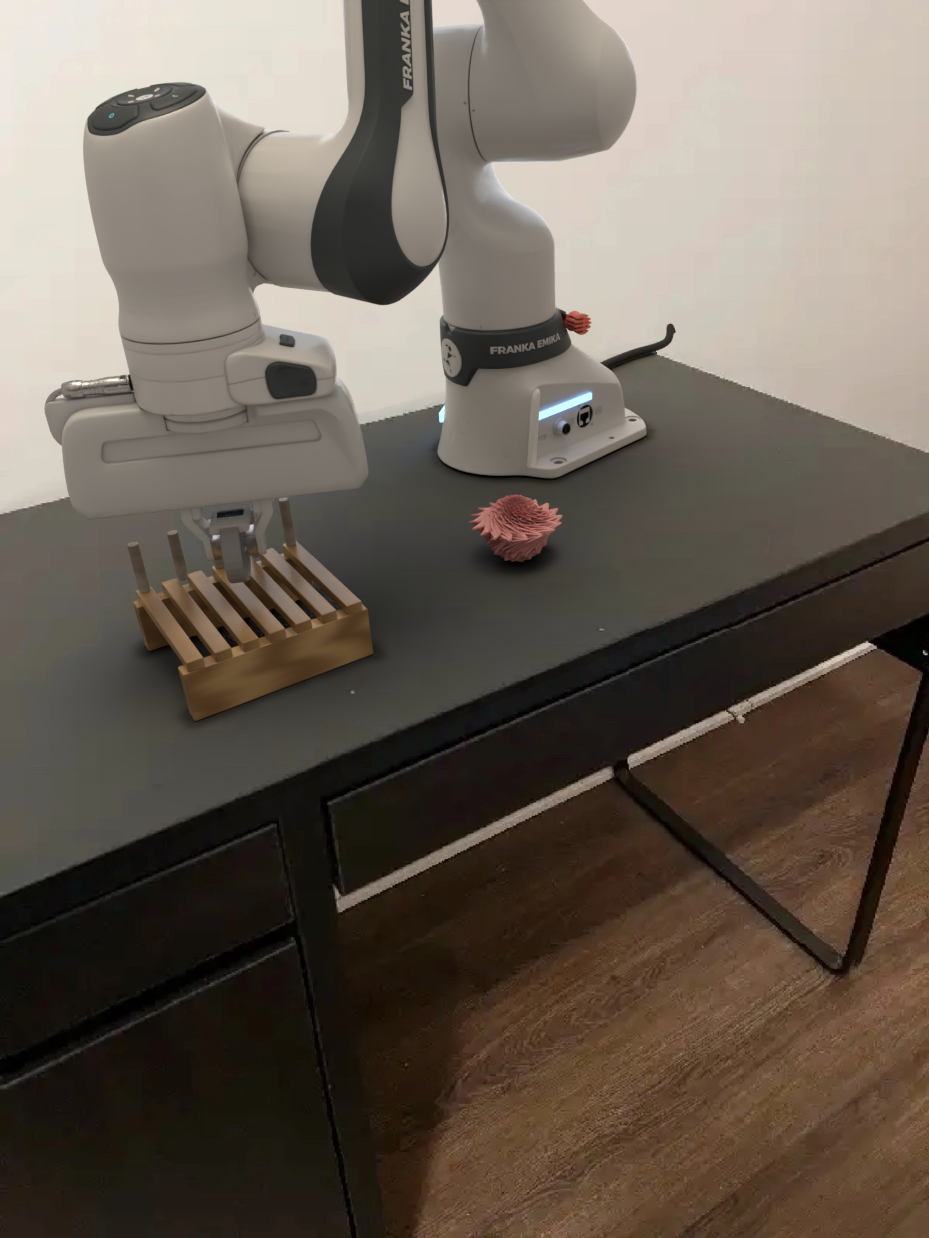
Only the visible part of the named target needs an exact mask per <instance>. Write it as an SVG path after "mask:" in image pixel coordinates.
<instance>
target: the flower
mask: <svg viewBox="0 0 929 1238" xmlns="http://www.w3.org/2000/svg"><path fill="white" fill-rule="evenodd" d="M489 505H491V506H489V507H477V509H478V510H479V511H481V512H479V513H472V514H471V513H470V516H471V517H474V518H475V519H473V520H469V521H468V522H467V523H468V524H473V525H474V527H472V528H471V530H472V531H475V532H479V533H480V535H479V536H480V537H483V539H484V540H485V542H486V544H487V545H490V550H491V551H493V555H494V556H495V555H496V556H500V557H501V559H503V561H505V562H507V561H510V562H513V563H514V562H519V563H520V562H521V563H524V561H525V560H532V557H536V556H537V555H539V554H541V552H542V549H543V547H546V546H547V543H548V540H549V536H550V535H551V534H552V533H553V532H555V531H556V528H557V527H559V526H561V525H562V524H563V522H562V521H560V520H561V519H562V518H563V517H564V516H563V514H557V513H558V510H559V507H555V508H550V509H549V507H550V503H549V502H545V503H544V504H541V505H539V504H538V501H537V499H536V498H535V499H533V500H532V498H530V497H527V496H524V495H522V494H510V495H505V496H504V497H500V498H499V499H497V500H496V502H495V503H494V502H492V501H490V502H489Z"/></svg>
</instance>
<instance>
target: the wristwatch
mask: <svg viewBox="0 0 929 1238" xmlns="http://www.w3.org/2000/svg"><path fill="white" fill-rule="evenodd" d="M251 508H252V506H251V504H250V503H242V504H234V505H224V506H216V507H214V508H212V510H211V516H210V519H211V522H210V529H209V532H210V534H211V535H220V542H221V550H222V557H223V563H224V568H225V572H226V576H227V579H228V581H229V582H230V583H241V582H247V581H249V579H250V575H251V558H250V556H246V555H245V546H244V545H243V540H242V532H247V531H249V529H250V518H251Z"/></svg>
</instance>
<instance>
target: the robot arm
mask: <svg viewBox="0 0 929 1238" xmlns="http://www.w3.org/2000/svg"><path fill="white" fill-rule="evenodd" d="M475 2H476V4H477V6H478V8H479V10H480V12H481V17H482V19H483V20H482V21H483V23H482V22H481V23H470V24H469V23H468V24H467V23H466V24H447V25H434V22H433V21H434V19H433V17H434V16H433V0H342V18H343V36H344V53H345V54H344V57H345V71H346V72H345V73H346V75H345V76H346V95H347V109H346V115H345V119H344V120H343V123H342V124H341V126H340V127H339V128H338V129H337V130H336V132H325V131H324V132H323V131H322V132H321V131H320V132H315V131H289V130H283V129H266V127H265V126H262V125H259V124H255V123H252V122H249V121H247V120H244V119H242V118H240V117H237V116H236V115H234V114H232V113H230V112H228V111H227V110H226V109H224V108H223V107H221V106H220V105H219V104H218V103H216V102H215V101H214V98H213V96H212V95H211V93H210V91H209V90H208V89H207V88H205V87H204V86H202V85H200V84H197V83H192V82H184V81H179V82H178V81H176V82H175V81H173V82H162V83H155V84H150V85H149V86H145V87H144V86H143V87H140V88H137V87H136V88H132V89H129V90H126V91H124V92H121V93H118V94H115V95H114V96H111V97H109V98H108V99H106V100H104V101H103V102H101V103H100V104H98V105H97V106H96V107H95V109H94V110H93V111H92V112H91V113H90V114H89V115H88V117H87V118H86V121H85V124H84V129H83V137H82V140H83V141H82V155H83V156H82V158H83V170H84V179H85V185H86V186H85V187H86V191H87V198H88V203H89V209H90V214H91V219H92V223H93V228H94V233H95V236H96V241H97V244H98V245H97V246H98V249H99V254H100V257H101V261H102V263H103V266H104V268H105V270H106V272H107V274H108V275H109V277H110V279H111V281H112V283H113V285H114V289H115V292H116V295H117V301H118V319H117V320H118V323H117V324H118V331H119V336H120V339H121V343H122V348H123V351H124V356H125V360H126V365H127V368H128V374H120V375H111V376H104V377H101V378H96V379H90V380H89V379H88V380H83V379H74V380H68V381H65V382H62V383H61V385H60V387H59V388H57V389H55V390H53V391H52V392H51V393H50V394H48V396H47V398H46V399H45V403H44V414H45V419H46V423H47V425H48V428H49V432H50V434H51V436H52V438H53V439H54V440H55V442H56V443H57V444H58V445H60V446H61V453H62V464H63V473H64V478H65V484H66V490H67V495H68V499H69V502H70V505H71V508H72V509H73V510H74V511H75V512H76V513H78V514H79V515H80V516H81V517H83V518H84V519H86V520H90V521H91V520H101V519H111V518H118V517H126V516H134V515H136V516H137V515H142V514H152V513H161V512H169V511H179V516H180V521H181V523H182V524H183V525H184V527H186V528H187V530H189V531H190V532H191V533H192V534H193V535H194V536H195V537H196V538H197V539H198V540H199V541H200V542H202V544H203V548H204V553H205V557H206V558H205V559H206V560H207V561H208V562H210V561H212V562H213V561H214V560H219V559H223V557H222V550H221V542H220V535H211V534H210V532H209V529H210V524H209V523H208V522H207V521H206V520H207V519H206V518H205V517H204V515H203V512H204V508H205V507H212V506H221V505H222V506H223V505H230V504H239V503H247V502H248V503H249V502H251V504H252V506H251V507H252V509H253V513H254V514H257V515H256V517H255V522H254V524H252V525H250V529H249V531H247V532H242V540H243V545H244V546H245V555H246V556H251V557H252V555H261V554H266V552H267V549H268V545H267V538H266V537H267V536H266V530H267V528H268V526H269V524H270V522H271V519H272V517H273V515H274V513H275V499H280V498H283V497H287V498H291V497H292V498H293V497H300V496H308V495H317V494H327V493H334V492H342V491H353V490H358V489H360V488H361V487H362V486H363V484H364V483H365V481H366V480H367V478H368V476H369V474H370V473H369V465H368V457H367V452H366V446H365V441H364V436H363V432H362V427H361V424H360V420H359V417H358V413H357V410H356V406H355V404H354V401H353V397H352V395H351V392H350V390H349V389H348V387H347V386H346V383H344V381H342V380H341V378H340V377H338V374H337V373H338V371H337V359H336V354H335V351H334V348H333V346H332V344H330V342H329V340H328V339H326V338H325V337H323V336H320V335H316V334H313V333H307V332H302V331H297V330H292V329H287V328H282V327H276V326H273V325H269V324H264V323H263V322H262V317H261V311H260V307H259V304H258V301H257V300H256V297H255V295H254V292H255V290H256V288H257V287H259V286H261V285H264V284H265V285H273V286H277V287H279V288H280V287H281V288H286V289H296V290H297V289H298V290H303V291H304V290H306V291H315V292H322V293H331V294H332V295H335V296H340V297H343V298H348V299H351V300H355V301H361V302H364V303H369V304H372V305H377V306H389V305H392V304H393V305H394V304H395V303H397V302H400V301H402V300H403V299H404V298H406V297H407V296H408V295H409V294H411V293H412V292H413V291H414V290H416V289H417V288H418V287H419V286H420V285H421V284H422V283H423V282H424V281H425V280H426V279H427V278H428V276H429V275H430V274H431V273H432V272H433V270H434V269H435V268H436V266H437V265H438V275H439V282H440V283H439V284H440V291H441V303H442V315H441V317H440V318H439V340H440V353H441V355H440V356H441V363H442V368H443V374H444V376H445V393H444V405H443V407H442V408H441V410H440V411H439V412H438V417H439V418H438V420H439V423H442V426H441V432H440V437H439V443H438V446H437V450H436V451H437V456H438V458H439V460H440V461H441V462H443V463H444V464H446V465H447V466H448V467H451V468H453V469H456V470H457V471H462V472H465V473H468V474H474V475H482V476H498V477H501V476H502V477H505V476H508V477H509V476H528V477H533V478H541V479H556V478H559V477H562V476H564V475H566V474H568V473H571V472H572V471H575V470H577V469H579V468H581V467H583V466H585V465H587V464H589V463H591V462H593V461H596V460H598V459H600V458H602V457H604V456H607V455H608V454H610V453H612V452H615V451H617V450H618V449H621V448H623V447H625V446H627V445H630V444H632V443H634V442H635V441H638V440H640V439H642V438H644V437H645V436H647V426H646V423H645V421H644V419H642V418H641V417H640V416H639V415H638V414H636V412H633V411H632V410H630V409H628V408H627V407H625V399H624V393H623V388H622V385H621V382H620V380H619V378H618V376H617V375H616V374H615V373H614V372H613V371H612V370H611V369H610V368H611V367H613V366H616V365H618V364H620V363H623V362H626V361H628V360H631V359H633V358H636V357H640V356H644V355H648V354H651V353H654V352H658V351H661V350H663V349H665V348H666V347H668V346H669V345H670V344H672V341H673V339H674V335H675V334H676V332H677V330H676V328H675V325H674V324H673V323H668V324H667V325H666V328H665V329H666V330H665V331H666V332H665V337H664V338H663V339H661V340H659V341H657V342H654V343H650V344H647V345H643V346H639V347H636V348H633V349H629V350H627V351H625V352H622V353H619V354H616V355H614V356H612V357H609V358H606V359H604V360H602V361H601V362H600V361H598V360H597V359H596V358H593V356H591V355H590V354H588V353H587V352H585V351H584V350H582V349H580V348H579V347H578V346H576V345H575V344H573V342H572V339H571V336H570V334H569V332H574V333H576V334H577V335H578V336H579V335H580V336H581V335H582V336H584V335H586V334H587V333H589V329H590V328H591V327H592V325H591V324H592V321H591V320H592V319H591V317H589V314H586V313H582V312H579V311H578V310H572V311H570V312H568V313H567V312H566V311H565V310H564V309H561V308H558V307H557V305H556V303H557V302H556V301H557V300H556V242H555V237H554V234H553V232H552V230H551V228H550V226H549V224H548V222H546V220H545V219H544V217H543V216H542V215H541V214H540V213H539V212H538V211H536V210H535V209H533V208H532V207H530V206H528V205H527V204H525V203H523V202H521V201H519V200H517V199H516V198H514V197H512V195H510V194H509V193H508V192H507V190H506V189H505V188H504V187H503V185H502V184H501V182H500V180H499V179H498V176H497V175H496V171H495V167H494V163H551V162H552V163H553V162H555V163H557V162H559V163H560V162H564V161H568V160H573V159H578V158H583V157H587V156H591V155H595V154H599V153H603V152H607V151H610V149H612V148H613V147H614V146H615V145H616V144H617V143H618V141H619V140H620V138H621V137H622V136H623V134H624V133H625V131H626V129H627V127H628V126H629V123H630V122H631V119H632V116H633V114H634V110H635V106H636V101H637V95H638V76H637V69H636V65H635V61H634V58H633V55H632V53H631V50H630V49H629V46H628V45H627V43H626V41H625V40H624V38H623V37H622V35H621V34H620V33H619V32H618V31H617V30H616V29H615V28H614V27H613V26H611V25H610V24H609V23H608V22H606V21H605V20H604V19H603V18H601V17H600V16H599V15H598V14H597V13H596V12H595V11H594V10H593V9H592V8H591V7H590V6H589V5H588V3H587V2H586V1H585V0H475ZM60 396H63V397H60ZM58 397H59V398H58Z"/></svg>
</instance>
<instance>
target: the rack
mask: <svg viewBox="0 0 929 1238" xmlns="http://www.w3.org/2000/svg"><path fill="white" fill-rule="evenodd" d="M278 507H279V512H280V513H279V514H280V518H281V523H282V529H283V536H284V540H285V543H282V545H281V546H282V552H283V553H280V554H279V552H278V551H277V550H276V549H275V548H274V547H270V548H267V552H266V554H261V555H252V556H250V558H251V575H250V579H249V581H247V582H241V583H230V582H229V581H228V579H227V576H226V572H225V568H224V563H223V559H219V560H213V566H211V567H210V568H211V573H212V575H211V576H207V575H206V574H205V573H204V571H202V569H199V570H197V571H193V572H191V573H188V569H187V566H186V561H185V557H184V552H183V547H182V544H181V539H180V535H179V532H178V530H175V529H171V530H169V531H167V532H166V536H167V540H168V544H169V548H170V553H171V556H172V561H173V564H174V569H175V574H176V577H174V578H171V579H169V580H165V581H162V582H161V587H162V591H161V592H159V593H156V591H155V589H153V587H152V586H151V585H150V582H149V579H148V576H147V571H146V567H145V563H144V560H143V556H142V552H141V549H140V545H139V542H138V541H130V542H128V543H127V545H126V547H127V550H128V554H129V558H130V561H131V565H132V569H133V573H134V577H135V579H136V584H137V588H138V589H137V590H135V594H136V598H137V599H136V600H133V602H132V603H133V607H134V611H135V615H136V618H137V622H138V625H139V630H140V633H141V636H142V640H143V643H144V646H145V647H146V649H147V650H148V651H149V652H151V651H154V650H157V649H160V648H163V647H166V646H170V648H171V649H172V651H173V653H175V654H176V656H177V658H178V659H179V660H180V662H181V664H182V665H180V666H178V667H177V670H178V674H179V678H180V682H181V686H182V689H183V690H182V691H183V693H184V697H185V702H186V705H187V708H188V709H187V710H188V713H189V715H190V716H191V718H192V719H193V721H194V722H197V721H200V720H202V719H205V718H208V717H211V716H213V715H216V714H218V713H221V712H224V711H227V710H229V709H231V708H235V707H237V706H240V705H242V704H245V703H247V702H250V701H253V700H255V699H258V698H261V697H263V696H266V695H268V694H271V693H274V692H276V691H279V690H282V689H284V688H287V687H289V686H293V685H294V684H297V683H300V682H303V681H306V680H308V679H311V678H314V677H316V676H319V675H322V674H324V673H326V672H329V671H331V670H334V669H337V668H340V667H342V666H345V665H347V664H350V663H353V662H356V661H358V660H360V659H363V658H366V657H369V656H371V655H373V654H374V648H373V640H372V633H371V626H370V625H371V624H370V618H369V611H368V610H369V609H368V608H367V607H366V606H365V605H364V604H363V603H362V600H361V599H360V598H358V597H357V596H356V595H355V594H354V593H353V592H352V591H351V590H350V589H349V588H348V587H347V586H346V585H344V583H342V581H340V580H339V579H338V578H337V576H335V575H334V574H332V572H331V571H329V570H328V569H327V568H326V567H325V566H324V565H323V564H322V563H321V562H320V561H319V560H317V559H316V557H314V556H313V555H312V554H311V553H310V551H308V550H307V549H306V548H305V547H303V546H302V545H301V544H300V543H299V542H298V541H297V539H296V535H295V529H294V523H293V518H292V512H291V511H292V510H291V505H290V499H289V497H283V498H278ZM255 520H256V518H255V513H254V511H253V507H251V518H250V525H252V524H254V522H255ZM206 521H207V522H208V523H209V524H210V522H211V518H209V519H206ZM254 558H259V560H258V561H256V560H255V559H254ZM186 580H187V583H186V584H183V585H182V583H181V582H182V581H183V582H184V581H186ZM313 583H314V584H315V585H316V586H318V588H319V589H320V590H322V591H323V593H325V595H327V596H328V597H329V598H330V599H331V600H332V601H333V602H334V603H335V604H336V605H337V606H338V607H339V608H340V609H338V610H337V609H336V608H335V607H334V606H333V605H332V604H331V603H330V602H329V601H328V600H327V599H326V598H325V597H323V596H322V594H320V592H318V591H317V589H315V588H314V585H313ZM298 601H300V602H301V603H302V604H303V606H305V607H306V608H307V609H308V610H309V612H310V613H312V615H314V616H315V618H313V619H311V617H310V616H308V614H307V613H306V612H305V611H304V610H303V609H302V608H301V607H300V606H299V605H298V604H297V602H298ZM273 609H274V610H275V611H276V612H277V613H278V614H279V615H280V616H281V618H283V619H284V620H285V622H286V623H287V624H288V625H289V626H290V627H287V628H285V627H284V626H283V624H282V623H281V622H280V621H279V620H278V619H277V618H276V617H275V616H274V614H272V613H271V610H273ZM247 618H249V619H250V620H251V621H252V623H254V624H255V626H256V627H257V628H258V629H259V630H260V632H261V633H262V634H263V635H264V636H262V637H258V636H257V634H256V633H255V632H254V631H253V630H252V629H251V627H250V626H249V625H248V624H247V623H246V621H245V619H247ZM221 627H223V628H224V629H225V631H227V633H228V634H229V635H230V637H231V638H232V639H233V641H234V642H235V643H236V644H237V645H235V646H233V647H231V646H230V644H229V643H228V642H227V641H226V639H225V638H224V637H223V636H222V633H220V631H218V628H221ZM193 637H197V638H198V639H199V640H200V643H202V645H203V646H204V647H205V648H206V650H207V651H208V652H209V654H210V655H208V656H205V657H204V656H203V655H202V654H201V653H200V651H199V650H198V648H197V647H196V645H195V644H194V643H193V642H192V640H191V639H190V638H193Z"/></svg>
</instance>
